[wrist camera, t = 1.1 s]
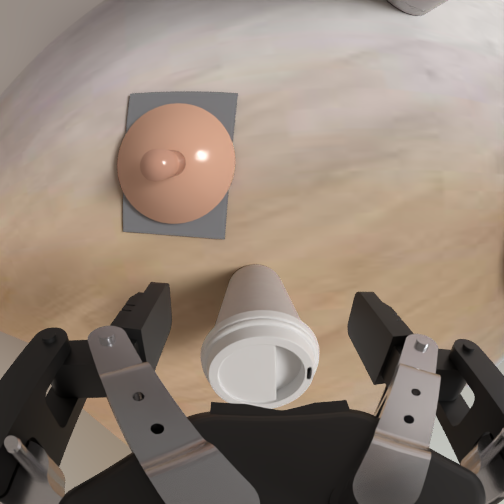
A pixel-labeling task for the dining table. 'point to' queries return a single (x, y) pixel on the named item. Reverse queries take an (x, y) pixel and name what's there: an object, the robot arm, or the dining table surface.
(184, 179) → the lid
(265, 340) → the coffee cup
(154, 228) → the mat
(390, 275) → the dining table surface
